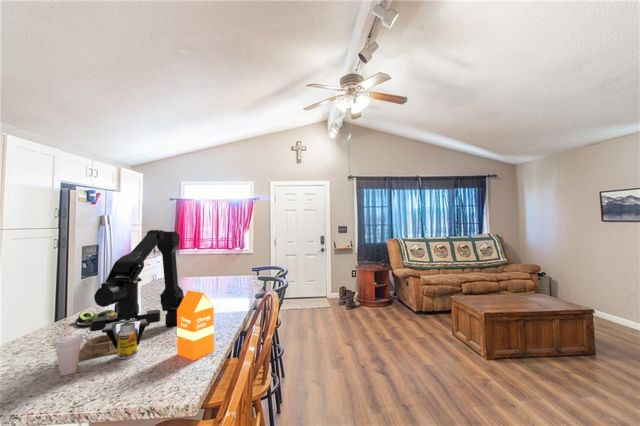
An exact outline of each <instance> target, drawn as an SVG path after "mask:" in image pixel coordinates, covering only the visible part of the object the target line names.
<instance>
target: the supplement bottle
mask: <svg viewBox="0 0 640 426" xmlns="http://www.w3.org/2000/svg"><path fill="white" fill-rule="evenodd" d="M119 325H120V328H119V329H120V330H118V332H116V333H117V353H116V357H117V359H119V360H127V359H131V358H133V357H135V356H136V355H137V354H138V347H139V345H137V339H138V331H139V329H138V328H136V323H135V322H128V323H121V324H119Z"/></svg>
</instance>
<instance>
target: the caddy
mask: <svg viewBox="0 0 640 426" xmlns="http://www.w3.org/2000/svg"><path fill="white" fill-rule="evenodd" d="M111 355H117V349H115V347H114V345H113V343H112V341H111V339H110V338H109V336H108V335H107V334H106V333H104V334H101V335H97V336H94V337H92V338H89V339H87V340H86V341H85V343H84V344H83V346H81V347H80V352H79V359H78V361H82V360H87V359H92V358H93V359H94V358H98V357H105V356H111Z"/></svg>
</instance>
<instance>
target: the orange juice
mask: <svg viewBox="0 0 640 426" xmlns="http://www.w3.org/2000/svg"><path fill="white" fill-rule="evenodd" d="M214 307H215V306H213V304H212V303H211V302H210V299H208V297H207V295H206V294H205V293H204V292H199V291H196V290H195V291H194V290H189V289H188V290H187V291H186V293H185V295H184V298H183V300H182V302H181V304H180V306H179V308H178V309H177V326H176V337H177V339H176V343H177V344H176V349H177V351H176V352H177V355H179V356H181V357H184V358H187V359H190V360H192V361H195V360H197V359H198V360H199V359H201V358H202V357H203V356H206V355H208V354H211V353H213V352H215V339H214V337H215V335H214V334H215V324H214V319H215V318H214V317H215V315H214V313H215V311H214V309H215V308H214Z"/></svg>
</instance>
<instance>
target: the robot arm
mask: <svg viewBox="0 0 640 426" xmlns="http://www.w3.org/2000/svg"><path fill="white" fill-rule="evenodd" d="M180 238H181V237H180V233H178V232H177V231H164V230H161V229H150V230H148V231H147V232H146V235H145V236H144V237H143V239H141V241H140V242H139V243H138V244H137V245H136V246H135V247H134V248H133V249H132V250H131V251H130V252H128V253H127V254H125V255H122V256H121V257H120V258H118V259H117V260H115V262H114V263H113V265H112V268H111V269H110V272H109V274H108V276H107V278H106V280H105V282H101V284H100V286H101V287H100V288H98V289H97V290H96V291H95V293H94V296H93V298H94V303H96V305H97V306H99V307H101V308H105V307H109V306H111V305H113V304H114V310H113V311H114V312H115V313H117V318H113V319H109V316H104V317H97V318H95V319H94V320H93V321H92V322H91V324H90V327H89V332H98V331H101V333H104V334H107V335H108V336H109V338H110V339H111V341H112V343H113V345H114V347H115V349H117V333H118V332H117V325H118V324H119V325H122V324H124V323H128V322H134V323H135V322H139V326H138V339H137V345H138V346H139V345H140V342H141V339H142V336H143V334H144V331H145V329H146V327H149V326H150V324H153V323H159V322H160V321H161V310H160V309H151V310H147V312H146V313H144V314H139V313H140V306H139V305H140V304H139V297H138V296H139V286H138V285H139V282H142V278H141V277H139V275H141V273H142V271H143V269H144V268H145V260H146V259H147V258H148V256H149V255H150V254H151V253H152V251H153V250H154V249H155V248H157V250H158V251H159V253H161V255H162V256H161V257H162V269H163V276H164V277H163V279H164V280H163V281H164V289H163V291H162V293H160V297H159V299H160V304H161V305H160V306H161V309H162V311H163V312H166V313H165V315H164V316H165V317H164V318H165V326H166V328H175V327H177V309H178V308H179V306H180V304H181V302H182V300H183V298H184V297H185V295H184V291H183V289H182V287H180V285H179V280H178V279H179V278H178V268H177V267H178V266H177V255H176V252H177V250H178V248H179V246H180V240H181V239H180Z"/></svg>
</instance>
